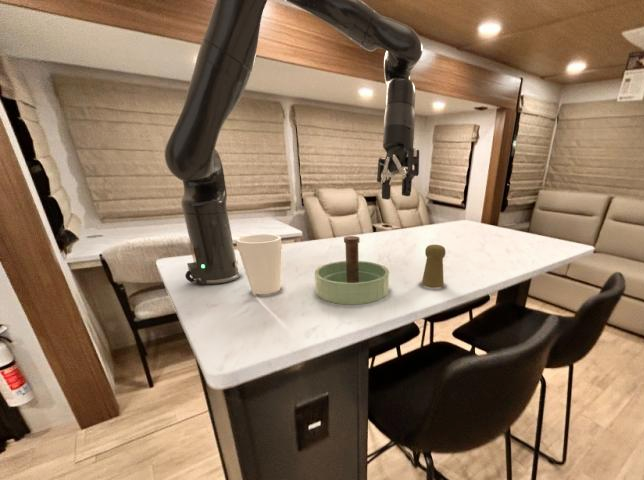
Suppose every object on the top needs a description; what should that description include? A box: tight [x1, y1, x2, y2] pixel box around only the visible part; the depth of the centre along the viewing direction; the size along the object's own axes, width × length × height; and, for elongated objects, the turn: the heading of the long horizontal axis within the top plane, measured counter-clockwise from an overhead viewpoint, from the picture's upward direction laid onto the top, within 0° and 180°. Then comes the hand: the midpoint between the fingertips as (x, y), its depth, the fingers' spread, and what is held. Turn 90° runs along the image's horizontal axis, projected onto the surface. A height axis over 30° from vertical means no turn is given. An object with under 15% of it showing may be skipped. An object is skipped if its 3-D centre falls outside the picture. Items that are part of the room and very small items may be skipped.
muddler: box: [343, 235, 361, 283], centre depth 74 cm, size 4×4×13 cm
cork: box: [421, 244, 446, 289], centre depth 81 cm, size 6×6×11 cm
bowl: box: [314, 260, 390, 306], centre depth 76 cm, size 18×18×6 cm
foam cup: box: [235, 233, 283, 297], centre depth 72 cm, size 10×9×13 cm
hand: (395, 197), depth 78 cm, fingers open, 8 cm apart
